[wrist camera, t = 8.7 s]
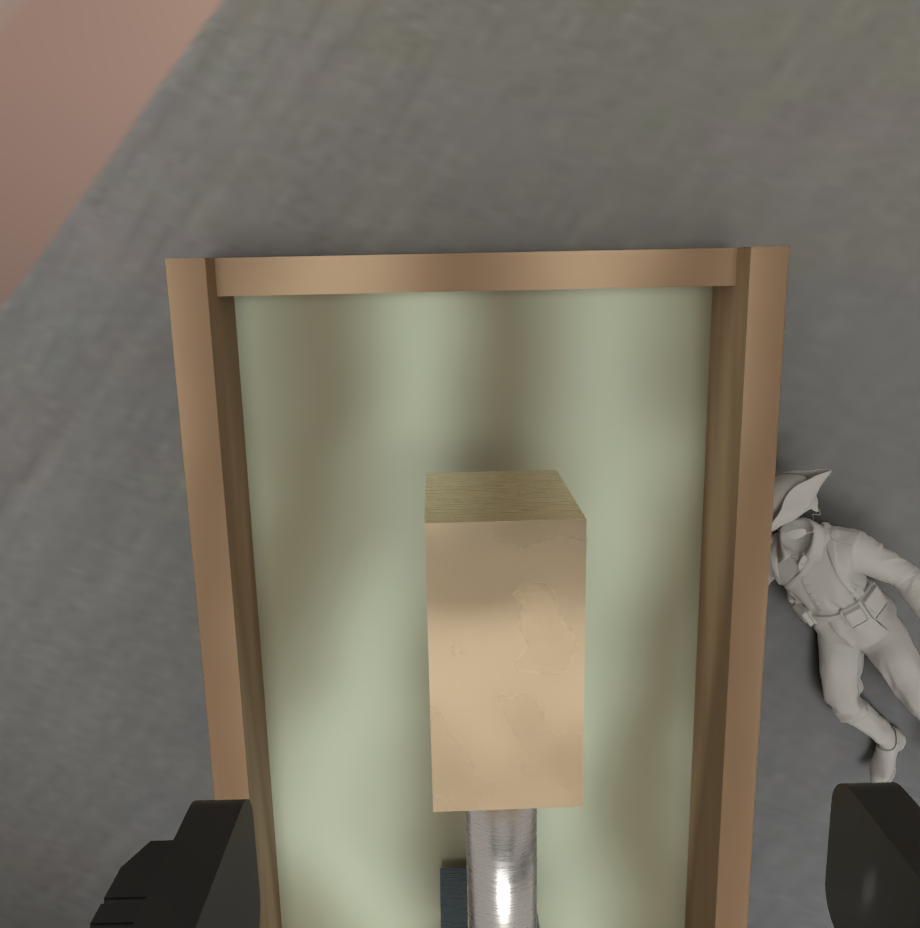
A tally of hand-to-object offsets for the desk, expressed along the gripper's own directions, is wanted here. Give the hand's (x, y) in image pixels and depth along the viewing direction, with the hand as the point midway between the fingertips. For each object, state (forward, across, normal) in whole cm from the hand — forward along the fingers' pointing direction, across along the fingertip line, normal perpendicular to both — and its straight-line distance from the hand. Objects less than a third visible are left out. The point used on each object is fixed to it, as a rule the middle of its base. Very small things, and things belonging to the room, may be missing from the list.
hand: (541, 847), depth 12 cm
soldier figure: (+18, -12, +4) cm, 21 cm away
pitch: (+17, 0, +7) cm, 18 cm away
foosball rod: (+15, 0, +5) cm, 16 cm away
